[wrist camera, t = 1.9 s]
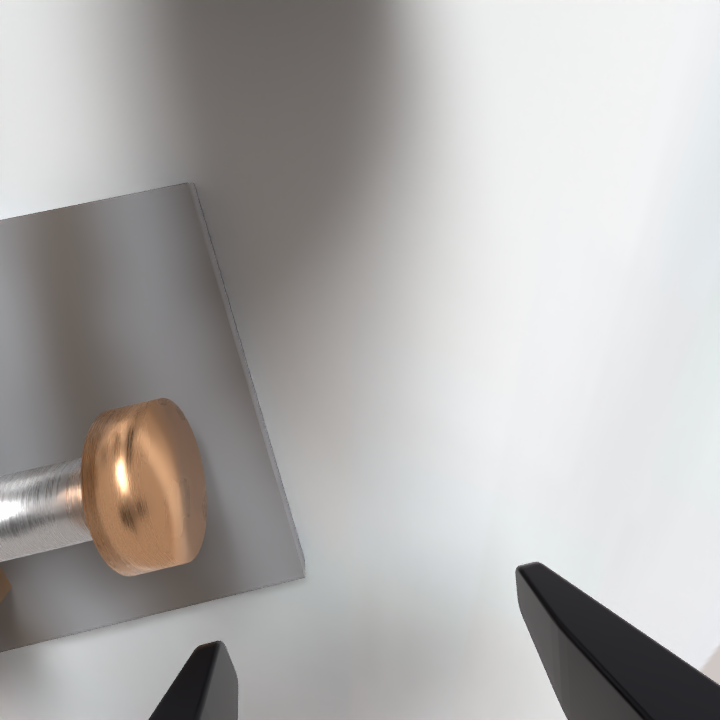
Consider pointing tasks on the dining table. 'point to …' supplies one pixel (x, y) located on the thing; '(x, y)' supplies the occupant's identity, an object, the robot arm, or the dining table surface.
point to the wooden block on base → (131, 401)
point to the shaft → (115, 494)
